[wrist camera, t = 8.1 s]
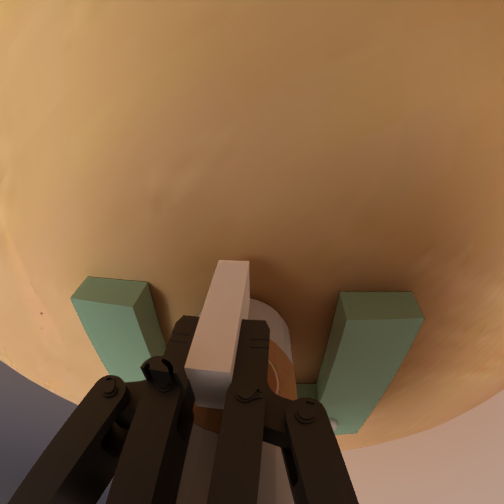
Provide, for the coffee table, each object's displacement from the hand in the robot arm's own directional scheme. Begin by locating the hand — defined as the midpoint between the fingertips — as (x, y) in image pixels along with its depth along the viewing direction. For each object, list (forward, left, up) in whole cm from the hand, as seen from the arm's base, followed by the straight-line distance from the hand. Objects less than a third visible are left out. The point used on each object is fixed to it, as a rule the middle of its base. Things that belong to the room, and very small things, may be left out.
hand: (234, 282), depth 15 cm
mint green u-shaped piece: (+11, 0, -2) cm, 11 cm away
